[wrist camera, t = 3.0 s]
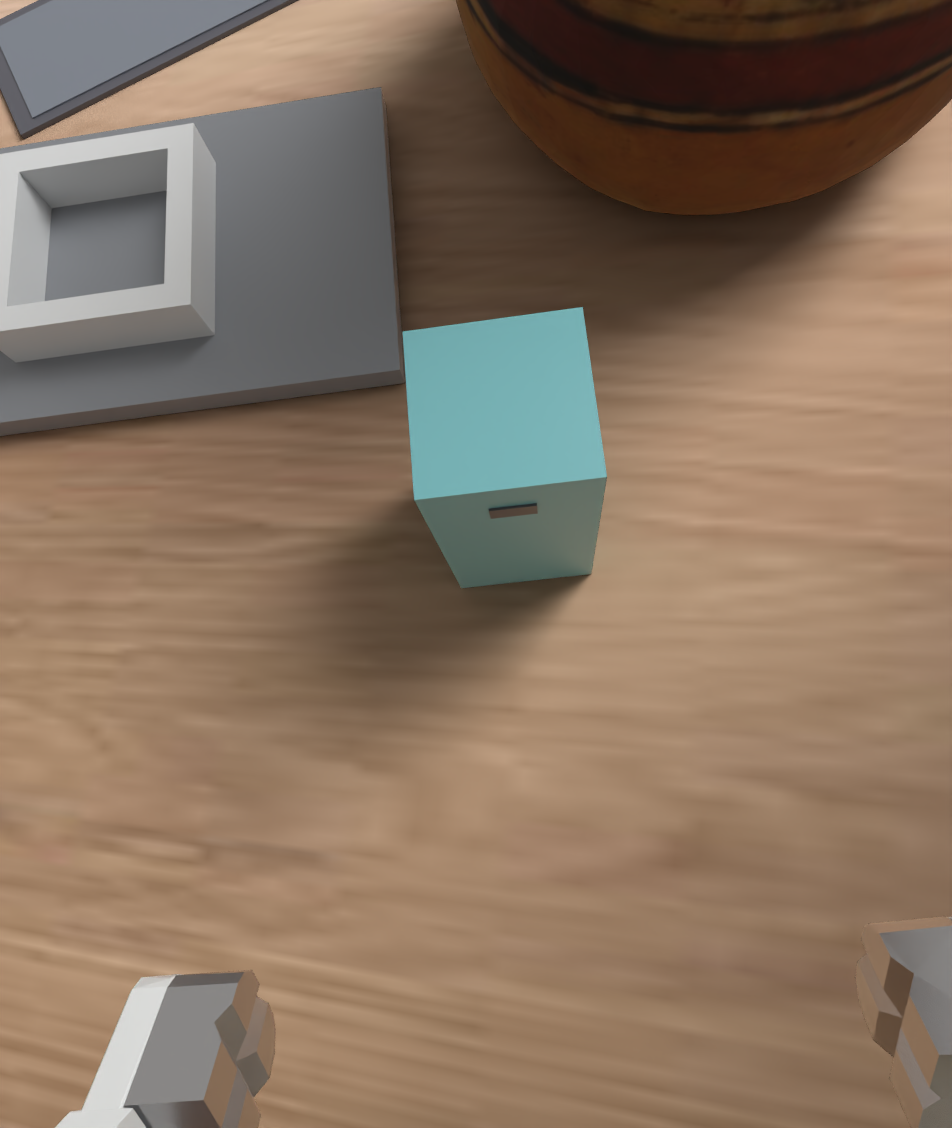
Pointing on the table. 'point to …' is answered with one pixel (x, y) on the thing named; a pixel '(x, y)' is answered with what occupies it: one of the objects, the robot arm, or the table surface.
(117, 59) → the phone
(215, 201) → the grey socket base board
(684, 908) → the table surface
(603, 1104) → the table surface
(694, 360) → the table surface
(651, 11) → the ceramic pitcher
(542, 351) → the teal box with slot
